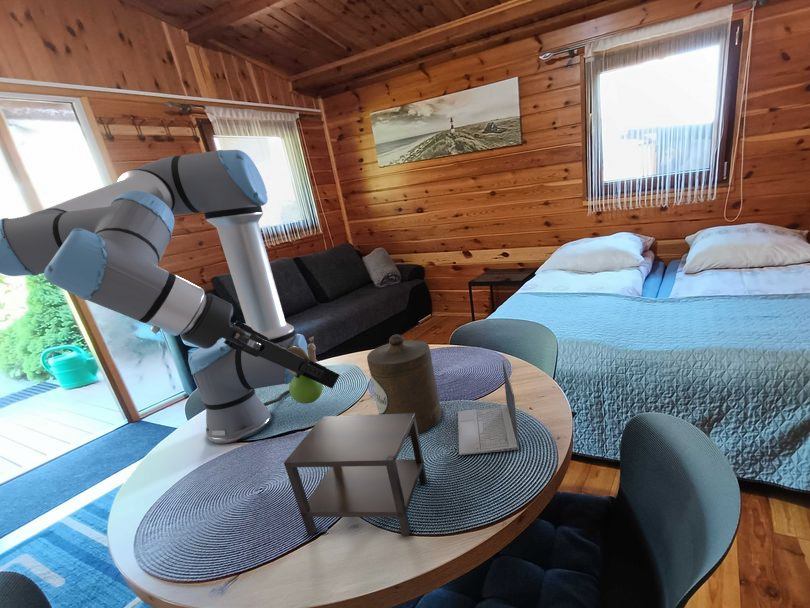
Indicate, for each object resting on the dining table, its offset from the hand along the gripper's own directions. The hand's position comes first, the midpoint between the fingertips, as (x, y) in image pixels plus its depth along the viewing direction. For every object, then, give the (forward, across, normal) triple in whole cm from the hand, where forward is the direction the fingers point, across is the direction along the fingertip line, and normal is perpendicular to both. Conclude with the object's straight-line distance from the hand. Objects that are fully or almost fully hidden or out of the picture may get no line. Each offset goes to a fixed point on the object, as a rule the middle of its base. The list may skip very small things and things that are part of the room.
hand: (328, 377), depth 77 cm
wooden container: (+32, -12, -1) cm, 34 cm away
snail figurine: (0, 0, -5) cm, 5 cm away
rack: (+16, +8, -17) cm, 25 cm away
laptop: (+37, +7, +4) cm, 38 cm away
